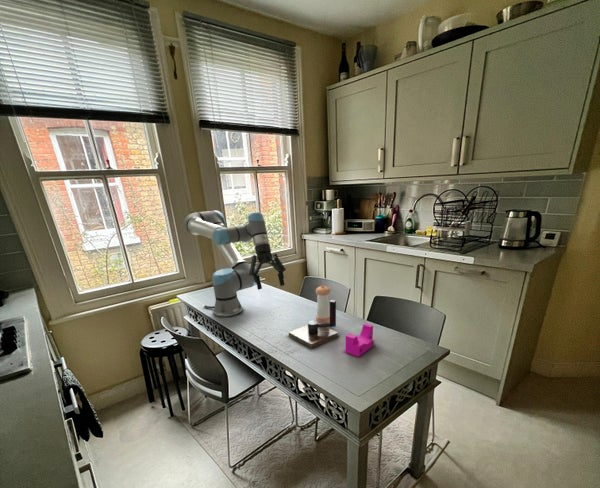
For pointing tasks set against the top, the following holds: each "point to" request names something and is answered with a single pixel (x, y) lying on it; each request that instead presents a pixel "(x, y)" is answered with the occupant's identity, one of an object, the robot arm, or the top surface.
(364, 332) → the toy block
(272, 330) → the top surface
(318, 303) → the pepper shaker
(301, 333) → the pivot base
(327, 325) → the black stand
